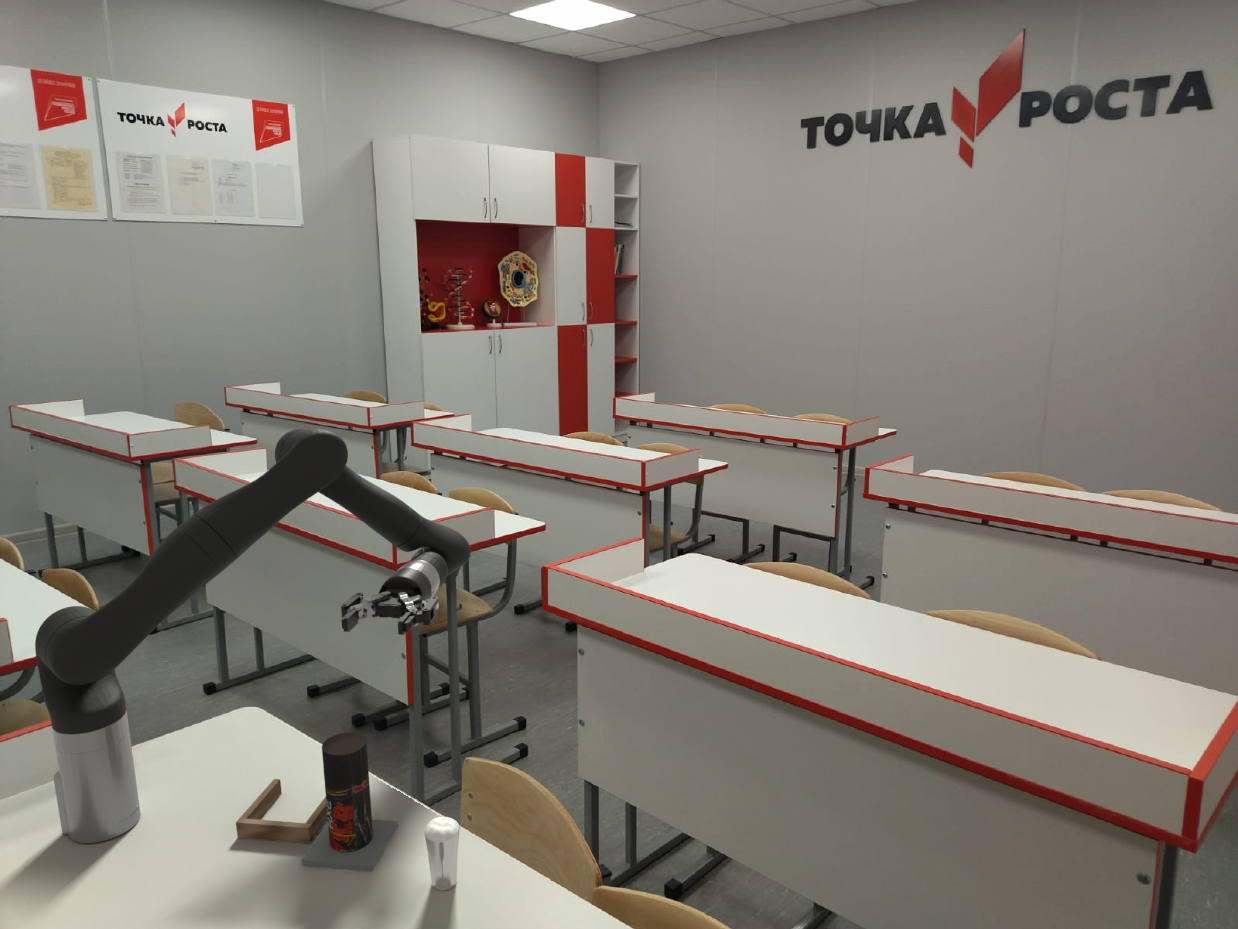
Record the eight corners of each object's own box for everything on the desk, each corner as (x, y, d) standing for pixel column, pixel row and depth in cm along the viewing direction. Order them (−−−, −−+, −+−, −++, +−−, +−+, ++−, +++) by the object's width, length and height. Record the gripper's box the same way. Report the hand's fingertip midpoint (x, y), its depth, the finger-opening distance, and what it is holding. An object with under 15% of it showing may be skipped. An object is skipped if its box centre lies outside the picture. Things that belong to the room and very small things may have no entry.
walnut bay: (237, 837, 127) (235, 822, 127) (275, 793, 138) (274, 779, 137) (310, 843, 126) (308, 828, 125) (342, 798, 136) (341, 784, 136)
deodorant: (381, 834, 127) (375, 739, 123) (350, 857, 122) (343, 759, 118) (352, 821, 130) (345, 728, 126) (320, 844, 124) (312, 748, 121)
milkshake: (460, 897, 115) (456, 830, 113) (421, 891, 116) (417, 824, 114) (472, 874, 120) (469, 809, 117) (435, 869, 121) (432, 804, 118)
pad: (301, 865, 121) (301, 860, 121) (333, 820, 131) (333, 815, 131) (371, 871, 120) (371, 866, 120) (398, 825, 130) (397, 821, 130)
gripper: (368, 565, 147) (325, 601, 131) (451, 568, 145) (417, 606, 129) (371, 607, 148) (328, 648, 133) (453, 611, 147) (420, 653, 131)
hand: (372, 627), depth 131 cm, fingers open, 8 cm apart
